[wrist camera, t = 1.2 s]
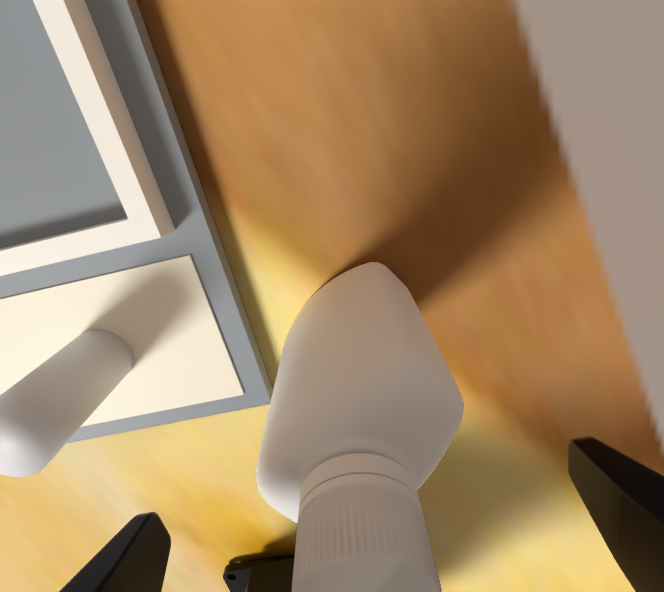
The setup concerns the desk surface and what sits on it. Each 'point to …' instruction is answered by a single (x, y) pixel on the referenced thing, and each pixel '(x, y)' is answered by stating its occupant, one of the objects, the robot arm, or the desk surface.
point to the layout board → (105, 243)
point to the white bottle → (358, 436)
